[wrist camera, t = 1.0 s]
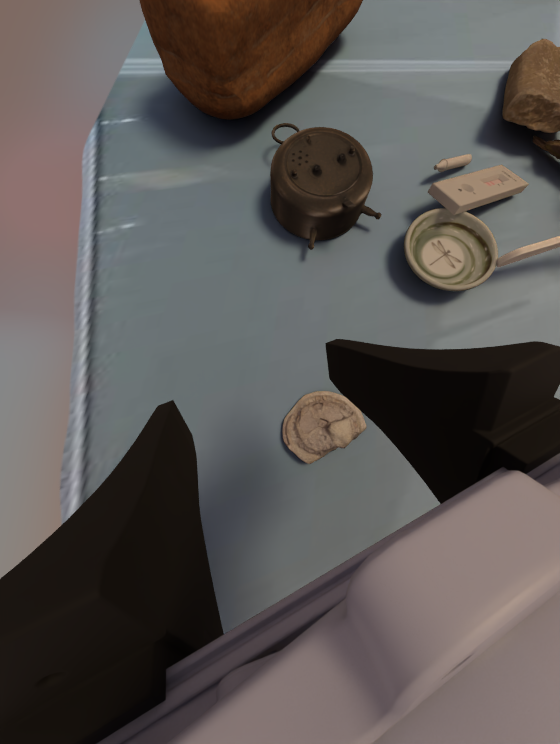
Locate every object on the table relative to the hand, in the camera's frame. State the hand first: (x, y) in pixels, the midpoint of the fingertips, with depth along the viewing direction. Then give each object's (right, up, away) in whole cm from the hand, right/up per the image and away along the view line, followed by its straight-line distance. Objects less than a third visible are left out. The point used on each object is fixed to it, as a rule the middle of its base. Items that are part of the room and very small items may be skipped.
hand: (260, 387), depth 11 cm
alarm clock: (+8, +16, +15) cm, 23 cm away
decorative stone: (+36, +43, +19) cm, 60 cm away
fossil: (+6, -7, +11) cm, 14 cm away
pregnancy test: (+23, +21, +17) cm, 36 cm away
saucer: (+19, +13, +17) cm, 29 cm away
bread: (-1, +45, +11) cm, 46 cm away
